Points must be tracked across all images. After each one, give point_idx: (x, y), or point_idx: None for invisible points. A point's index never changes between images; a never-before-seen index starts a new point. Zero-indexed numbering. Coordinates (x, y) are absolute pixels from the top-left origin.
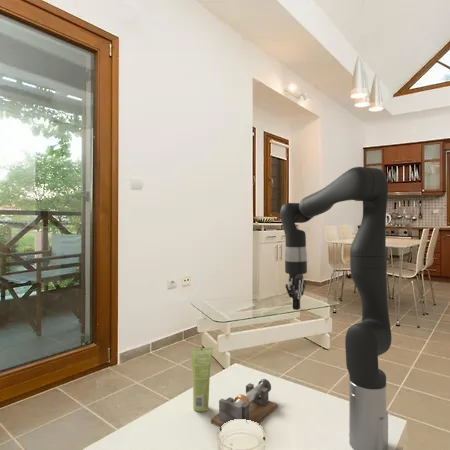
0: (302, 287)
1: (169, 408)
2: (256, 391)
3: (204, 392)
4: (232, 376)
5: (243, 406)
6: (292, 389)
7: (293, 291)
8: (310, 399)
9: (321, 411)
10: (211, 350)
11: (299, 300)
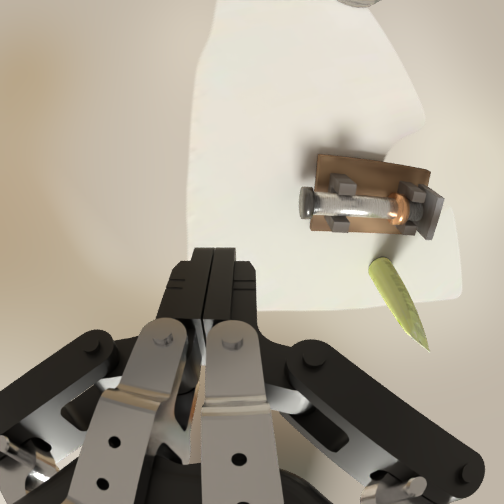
0: (92, 443)
1: None
2: (358, 202)
3: (399, 277)
4: None
5: (424, 196)
6: (217, 159)
7: (427, 419)
8: (240, 104)
9: (281, 66)
10: (412, 332)
11: (200, 304)
